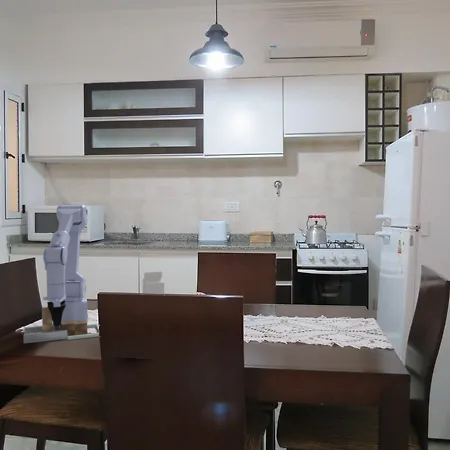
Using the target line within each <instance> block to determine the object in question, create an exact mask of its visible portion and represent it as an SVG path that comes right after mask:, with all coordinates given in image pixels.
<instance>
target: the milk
mask: <svg viewBox="0 0 450 450" xmlns="http://www.w3.org/2000/svg"><path fill="white" fill-rule="evenodd" d="M143 293H158V294H164V295H165V281H164V278H163V272H162V271H148V272H144V274H143V280H142V294H143Z"/></svg>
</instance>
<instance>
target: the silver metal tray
mask: <svg viewBox="0 0 450 450" xmlns="http://www.w3.org/2000/svg"><path fill="white" fill-rule="evenodd" d="M52 330H59V326H54V325H53V324H52ZM23 331H24V334H23V335H22V336H23V344H30V343H40V342H50V341H58V340H65V339H66V340H68V336H67V330H59V331H49V332H43V328H42V325H35V326H34V325H33V326H27V327H24V330H23Z"/></svg>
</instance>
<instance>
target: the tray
mask: <svg viewBox="0 0 450 450" xmlns="http://www.w3.org/2000/svg"><path fill="white" fill-rule="evenodd" d="M98 324H99V323H89V324H87V329H89V328H96V330H97V331H98ZM98 337H100V336H99V332H97V333H95V332H94V333H87V334H83V335H72V336H67V340H68V341H70V340H79V339H89V338H98Z"/></svg>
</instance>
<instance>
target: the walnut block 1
mask: <svg viewBox="0 0 450 450" xmlns="http://www.w3.org/2000/svg"><path fill="white" fill-rule="evenodd" d="M61 325H62V330H67V337H68V336H75V323H74V320H73V321H62V322H61Z"/></svg>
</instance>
